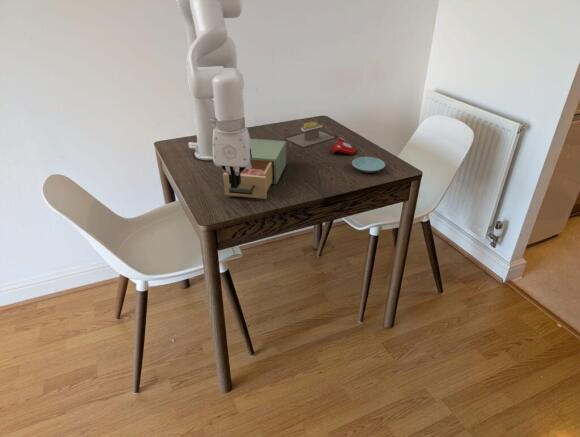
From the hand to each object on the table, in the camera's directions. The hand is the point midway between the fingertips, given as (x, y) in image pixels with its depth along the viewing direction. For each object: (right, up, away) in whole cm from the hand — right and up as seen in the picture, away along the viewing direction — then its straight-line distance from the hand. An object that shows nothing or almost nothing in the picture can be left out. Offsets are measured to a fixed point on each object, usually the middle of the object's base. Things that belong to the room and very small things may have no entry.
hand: (235, 185), depth 122 cm
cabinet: (+5, +7, +29) cm, 31 cm away
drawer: (+3, 0, +16) cm, 17 cm away
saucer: (+44, +8, +32) cm, 55 cm away
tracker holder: (+37, +17, +47) cm, 62 cm away
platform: (+24, +25, +59) cm, 68 cm away
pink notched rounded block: (+3, +2, +17) cm, 17 cm away
